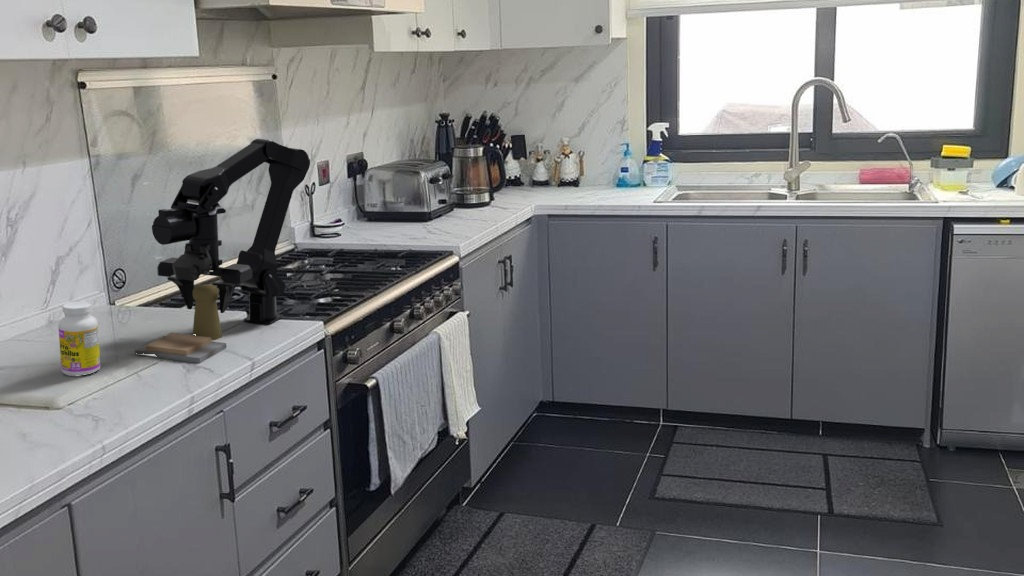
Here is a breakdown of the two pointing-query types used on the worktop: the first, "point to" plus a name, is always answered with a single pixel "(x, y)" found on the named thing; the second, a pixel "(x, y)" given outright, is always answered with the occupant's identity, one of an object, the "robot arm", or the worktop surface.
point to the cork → (206, 312)
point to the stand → (182, 347)
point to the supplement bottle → (79, 340)
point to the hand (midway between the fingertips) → (206, 310)
